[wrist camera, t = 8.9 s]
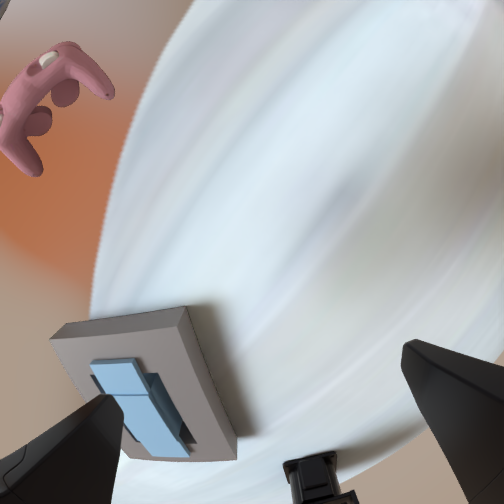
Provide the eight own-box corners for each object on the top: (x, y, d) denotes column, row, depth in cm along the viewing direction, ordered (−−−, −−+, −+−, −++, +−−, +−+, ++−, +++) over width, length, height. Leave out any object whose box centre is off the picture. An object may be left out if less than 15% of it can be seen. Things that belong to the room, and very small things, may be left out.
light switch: (237, 437, 23) (236, 459, 20) (136, 439, 23) (129, 458, 20) (185, 305, 19) (176, 326, 16) (66, 323, 19) (48, 339, 16)
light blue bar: (147, 335, 20) (130, 364, 16) (194, 429, 23) (189, 459, 19) (108, 339, 20) (88, 366, 16) (159, 429, 23) (152, 457, 19)
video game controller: (112, 71, 16) (62, 22, 9) (123, 95, 15) (61, 38, 8) (36, 151, 17) (-19, 123, 10) (38, 186, 16) (-28, 158, 9)
